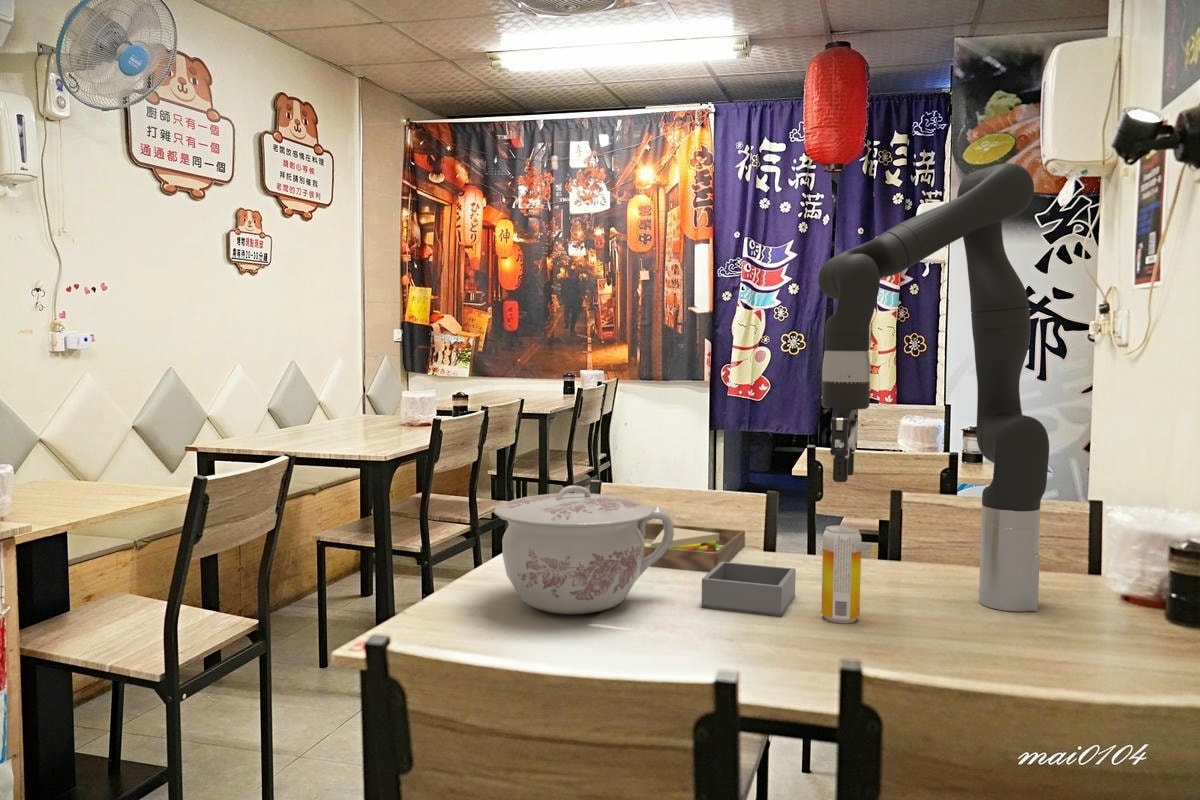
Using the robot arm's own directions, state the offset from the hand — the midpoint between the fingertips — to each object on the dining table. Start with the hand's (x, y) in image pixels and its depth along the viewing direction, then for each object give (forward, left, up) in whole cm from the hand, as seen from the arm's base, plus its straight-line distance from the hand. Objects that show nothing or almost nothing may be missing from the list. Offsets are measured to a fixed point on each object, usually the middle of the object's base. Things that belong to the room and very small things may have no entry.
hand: (843, 478), depth 151 cm
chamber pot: (+44, +9, -24) cm, 50 cm away
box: (+16, -4, -23) cm, 29 cm away
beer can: (0, 0, -24) cm, 24 cm away
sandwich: (+39, -32, -24) cm, 56 cm away
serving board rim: (+38, -33, -23) cm, 55 cm away
